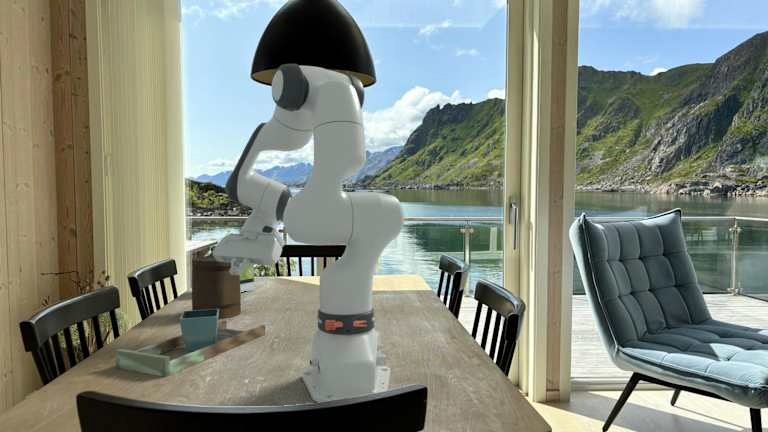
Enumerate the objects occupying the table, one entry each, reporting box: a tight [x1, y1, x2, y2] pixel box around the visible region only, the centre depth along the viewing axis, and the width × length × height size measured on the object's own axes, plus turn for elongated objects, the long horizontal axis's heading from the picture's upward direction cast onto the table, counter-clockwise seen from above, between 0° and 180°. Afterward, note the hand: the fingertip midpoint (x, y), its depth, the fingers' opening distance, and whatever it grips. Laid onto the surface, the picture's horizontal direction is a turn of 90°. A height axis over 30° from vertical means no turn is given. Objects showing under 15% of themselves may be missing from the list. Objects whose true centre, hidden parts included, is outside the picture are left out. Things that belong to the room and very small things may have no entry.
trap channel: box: [115, 320, 266, 378], centre depth 131 cm, size 36×14×4 cm, turn 157°
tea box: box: [240, 263, 255, 293], centre depth 205 cm, size 15×10×15 cm, turn 150°
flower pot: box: [179, 309, 219, 353], centre depth 132 cm, size 9×9×9 cm
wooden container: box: [191, 245, 242, 319], centre depth 169 cm, size 15×15×22 cm
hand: (234, 273), depth 144 cm, fingers closed
